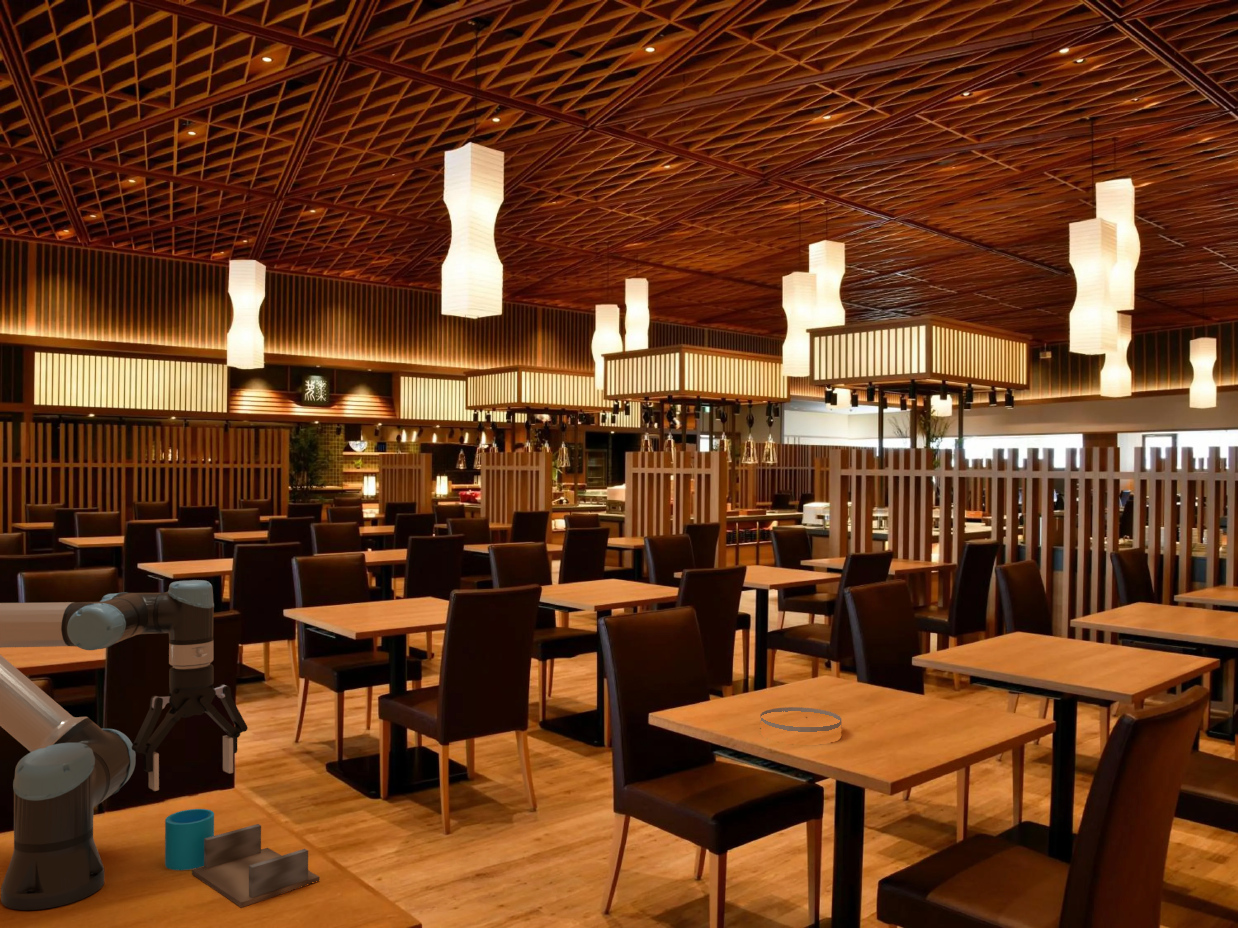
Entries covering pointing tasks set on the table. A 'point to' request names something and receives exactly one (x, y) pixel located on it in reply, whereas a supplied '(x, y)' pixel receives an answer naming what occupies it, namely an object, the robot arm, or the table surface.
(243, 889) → the holder
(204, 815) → the mug
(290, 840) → the table surface
